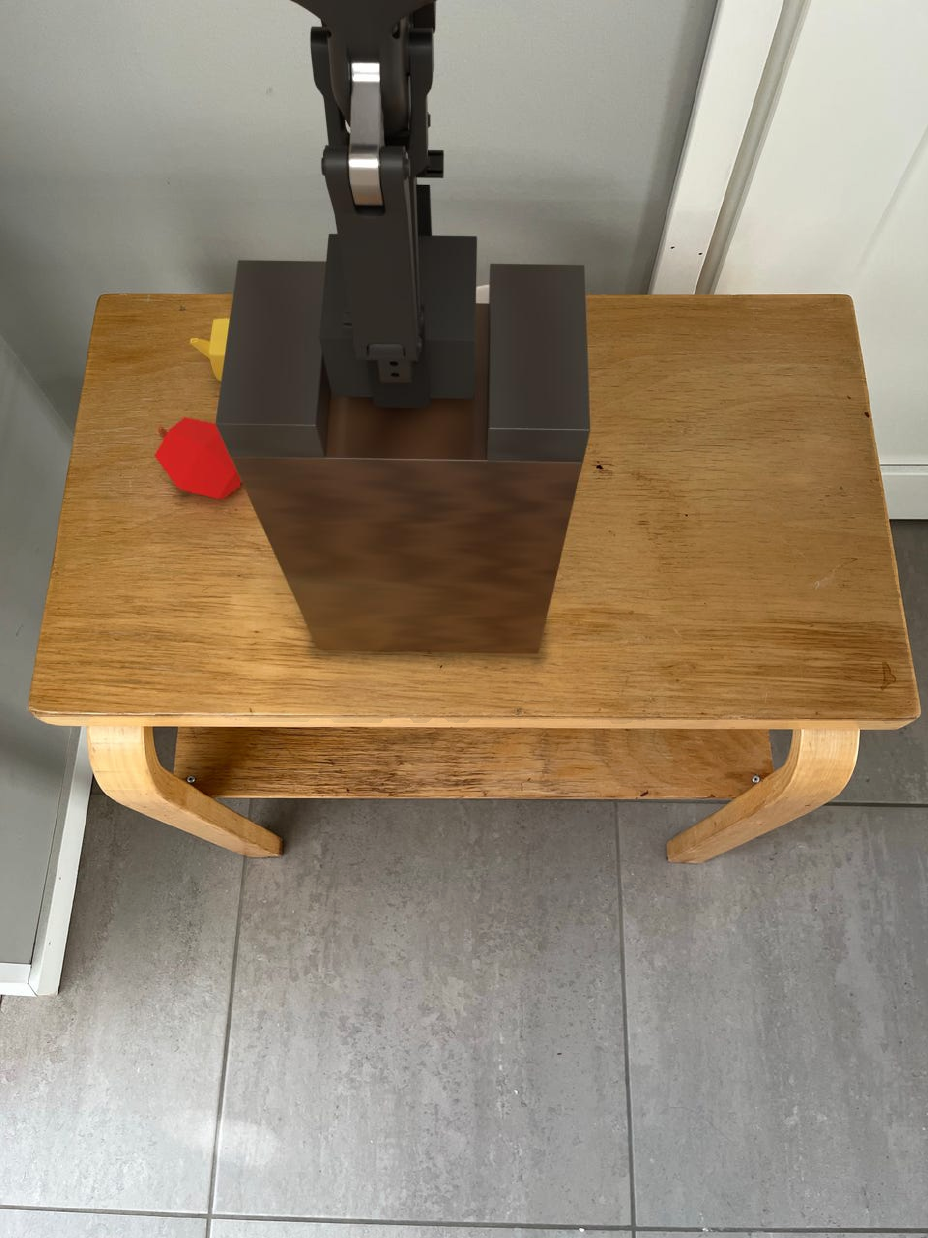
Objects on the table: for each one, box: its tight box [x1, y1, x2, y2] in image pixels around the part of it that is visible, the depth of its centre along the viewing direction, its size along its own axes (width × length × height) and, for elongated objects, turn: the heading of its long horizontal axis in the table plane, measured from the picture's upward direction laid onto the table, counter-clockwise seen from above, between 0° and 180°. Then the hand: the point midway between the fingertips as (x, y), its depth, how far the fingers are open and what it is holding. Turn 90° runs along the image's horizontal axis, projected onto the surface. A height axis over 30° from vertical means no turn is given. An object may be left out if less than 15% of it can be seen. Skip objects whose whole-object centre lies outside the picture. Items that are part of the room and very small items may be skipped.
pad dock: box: [214, 259, 591, 655], centre depth 61 cm, size 18×10×33 cm, turn 89°
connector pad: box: [319, 233, 478, 399], centre depth 44 cm, size 7×6×4 cm
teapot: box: [189, 317, 230, 382], centre depth 82 cm, size 8×6×5 cm
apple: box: [153, 416, 242, 501], centre depth 78 cm, size 7×7×8 cm
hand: (405, 343), depth 46 cm, fingers closed on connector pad, 6 cm apart
